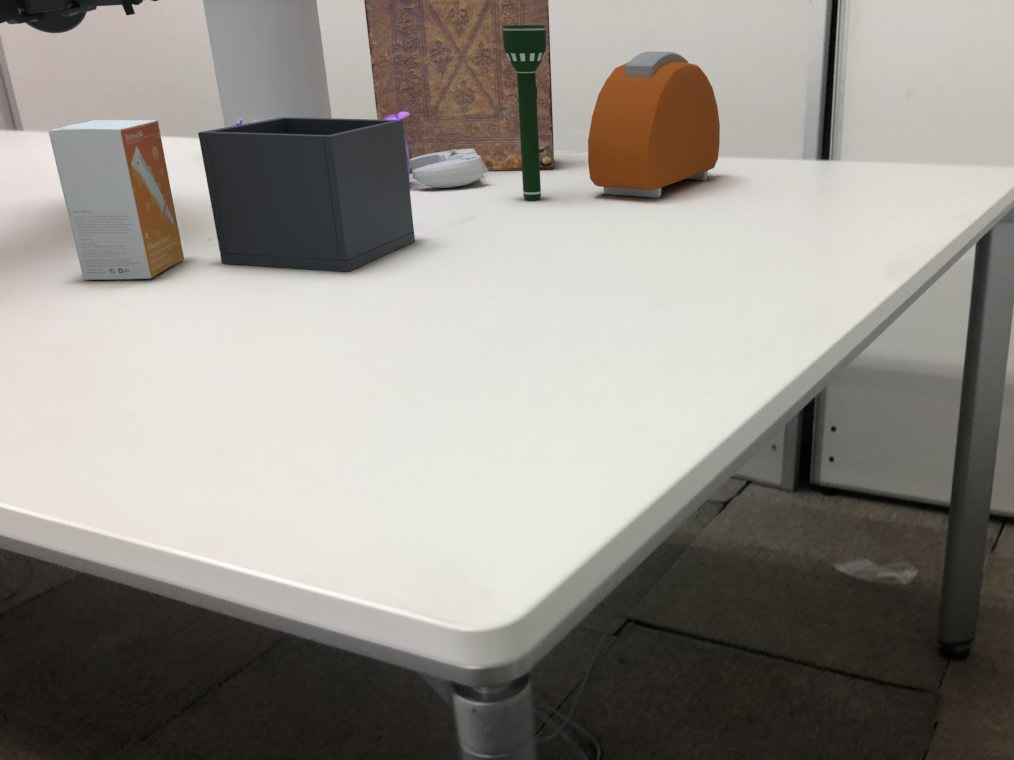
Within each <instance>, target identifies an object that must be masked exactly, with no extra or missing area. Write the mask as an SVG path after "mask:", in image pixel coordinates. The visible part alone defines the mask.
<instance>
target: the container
mask: <svg viewBox="0 0 1014 760" xmlns="http://www.w3.org/2000/svg"><path fill="white" fill-rule="evenodd" d="M202 3H203V9H204V15H205V21H206V27H207V32H208V33H207V34H208V38H209V39H208V40H209V45H210V50H211V55H212V63H213V67H214V73H215V79H216V86H217V90H218V96H219V103H220V109H221V113H222V120H223V127H224V128H225V127H231V126H236V123H237V121H238V120H239V119H240V118H242V124H248V123H251V122H252V121H253V120H256V121H264V120H270V119H276V118H281V117H295V118H333V117H332V116H333V115H332V108H331V101H330V94H329V93H330V92H329V86H328V79H327V78H328V77H327V71H326V70H327V69H326V62H325V55H324V47H323V39H322V31H321V25H320V24H321V23H320V15H319V10H318V9H319V8H318V1H317V0H202Z"/></svg>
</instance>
